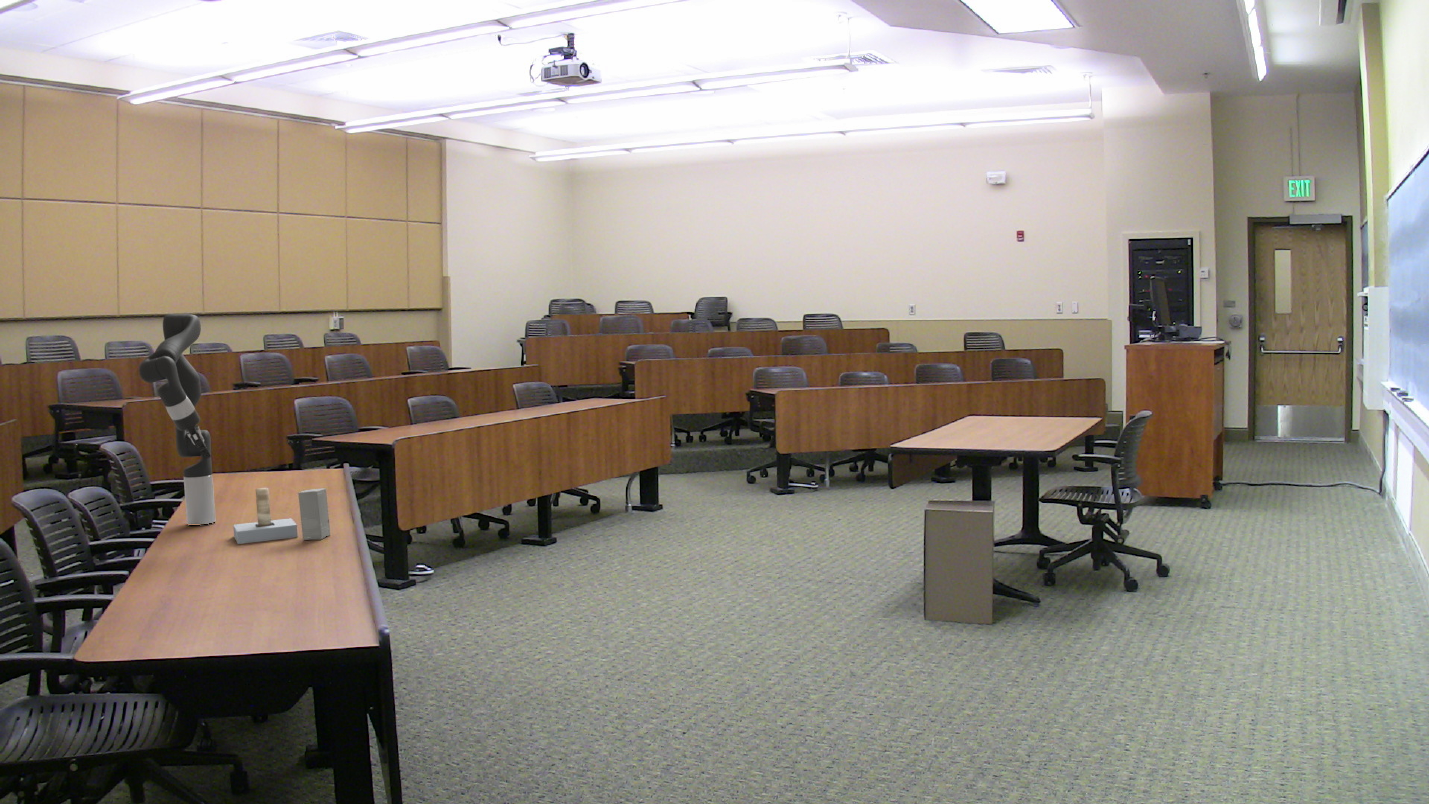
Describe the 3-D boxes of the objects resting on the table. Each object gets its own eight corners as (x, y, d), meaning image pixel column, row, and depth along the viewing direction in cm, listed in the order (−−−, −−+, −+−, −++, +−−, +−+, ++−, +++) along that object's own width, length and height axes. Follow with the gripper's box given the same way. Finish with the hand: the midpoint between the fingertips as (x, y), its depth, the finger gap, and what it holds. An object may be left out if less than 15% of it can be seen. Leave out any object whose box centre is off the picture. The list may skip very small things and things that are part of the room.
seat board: (234, 536, 357) (233, 524, 356) (291, 529, 365) (291, 518, 365) (237, 544, 344) (237, 531, 344) (297, 536, 353) (296, 524, 353)
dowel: (258, 536, 356) (254, 488, 354) (271, 535, 358) (268, 487, 356) (259, 538, 352) (256, 490, 351) (272, 537, 354) (269, 488, 353)
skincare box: (321, 540, 347) (318, 491, 345) (299, 540, 347) (296, 492, 345) (331, 534, 355) (328, 487, 354) (310, 535, 355) (307, 487, 354)
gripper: (197, 415, 343) (220, 455, 352) (190, 399, 354) (213, 439, 363) (173, 425, 341) (197, 466, 349) (167, 409, 352) (191, 449, 360)
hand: (205, 452), depth 356 cm, fingers open, 8 cm apart
